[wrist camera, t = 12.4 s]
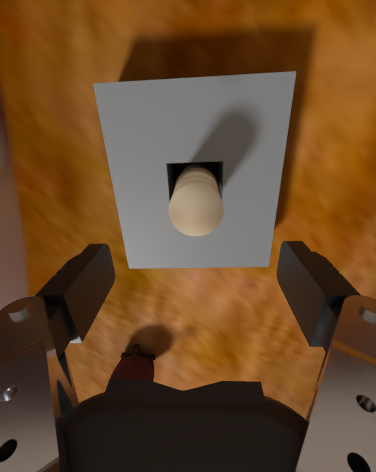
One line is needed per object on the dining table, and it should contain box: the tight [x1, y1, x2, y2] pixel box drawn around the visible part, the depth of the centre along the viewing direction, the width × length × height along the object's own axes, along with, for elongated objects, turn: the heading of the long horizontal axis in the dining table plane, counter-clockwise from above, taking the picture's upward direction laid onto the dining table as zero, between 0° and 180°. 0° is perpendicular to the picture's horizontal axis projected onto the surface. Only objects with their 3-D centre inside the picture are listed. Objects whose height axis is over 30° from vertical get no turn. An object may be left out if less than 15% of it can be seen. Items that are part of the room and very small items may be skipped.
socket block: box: [93, 71, 296, 268], centre depth 24 cm, size 18×16×5 cm
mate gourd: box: [110, 344, 155, 382], centre depth 34 cm, size 8×8×15 cm
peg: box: [168, 164, 224, 236], centre depth 21 cm, size 4×4×11 cm
